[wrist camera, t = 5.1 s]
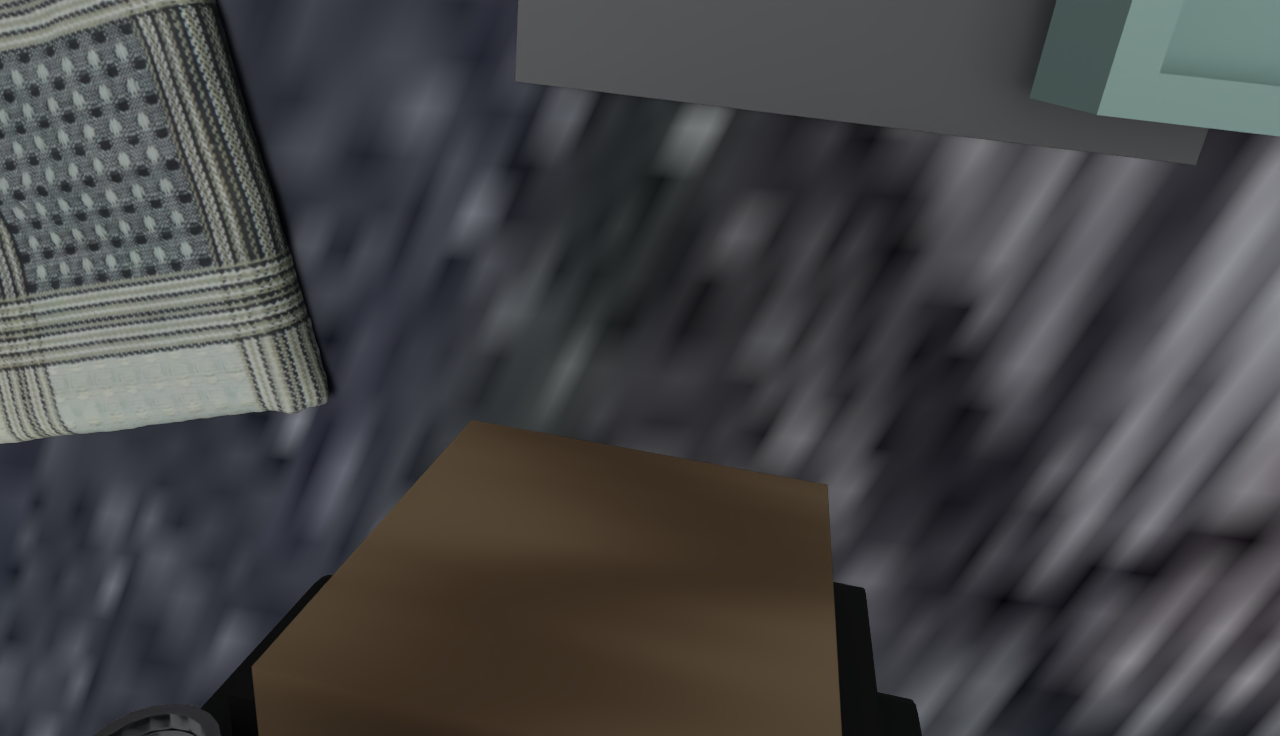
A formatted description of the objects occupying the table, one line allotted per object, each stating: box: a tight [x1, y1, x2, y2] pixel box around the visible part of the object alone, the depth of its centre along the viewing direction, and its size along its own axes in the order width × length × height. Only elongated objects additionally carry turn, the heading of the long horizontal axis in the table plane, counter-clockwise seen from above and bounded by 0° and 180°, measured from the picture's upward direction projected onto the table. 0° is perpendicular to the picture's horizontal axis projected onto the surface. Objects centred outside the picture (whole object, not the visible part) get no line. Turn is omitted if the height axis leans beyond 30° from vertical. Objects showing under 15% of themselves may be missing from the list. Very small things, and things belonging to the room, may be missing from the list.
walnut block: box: [252, 420, 842, 736], centre depth 10 cm, size 5×5×5 cm
